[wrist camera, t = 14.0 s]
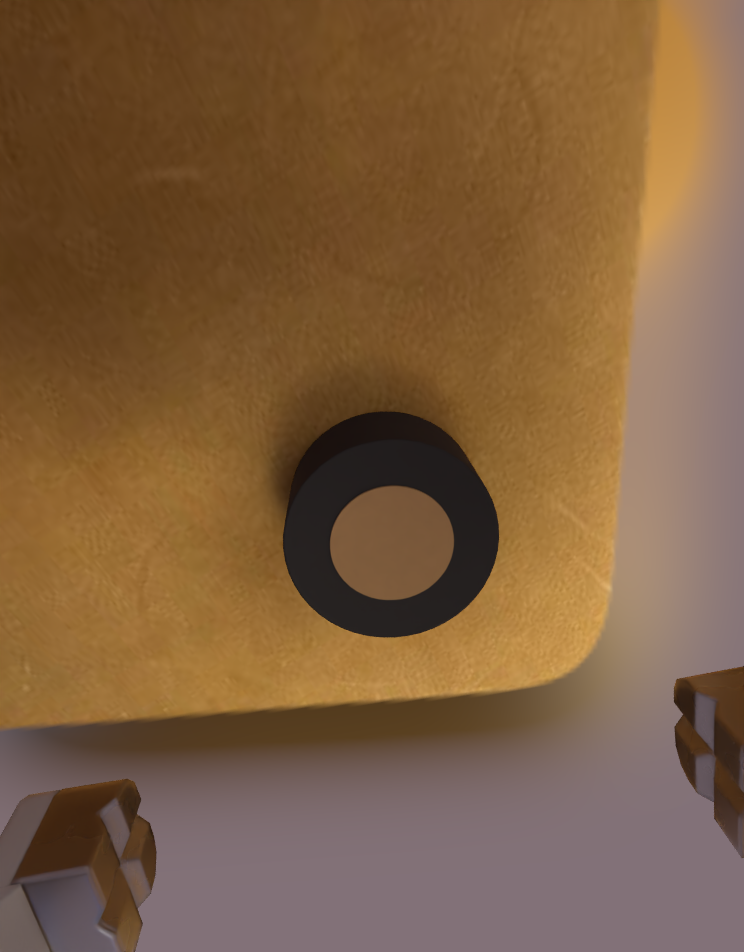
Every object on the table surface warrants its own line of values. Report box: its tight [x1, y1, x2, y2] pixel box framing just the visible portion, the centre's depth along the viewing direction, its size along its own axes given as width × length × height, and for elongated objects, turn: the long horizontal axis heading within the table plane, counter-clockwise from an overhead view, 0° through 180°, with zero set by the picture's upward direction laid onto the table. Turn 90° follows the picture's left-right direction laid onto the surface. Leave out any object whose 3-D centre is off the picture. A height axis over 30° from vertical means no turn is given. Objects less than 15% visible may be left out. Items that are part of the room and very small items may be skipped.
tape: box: [283, 412, 499, 637], centre depth 19 cm, size 6×6×3 cm
